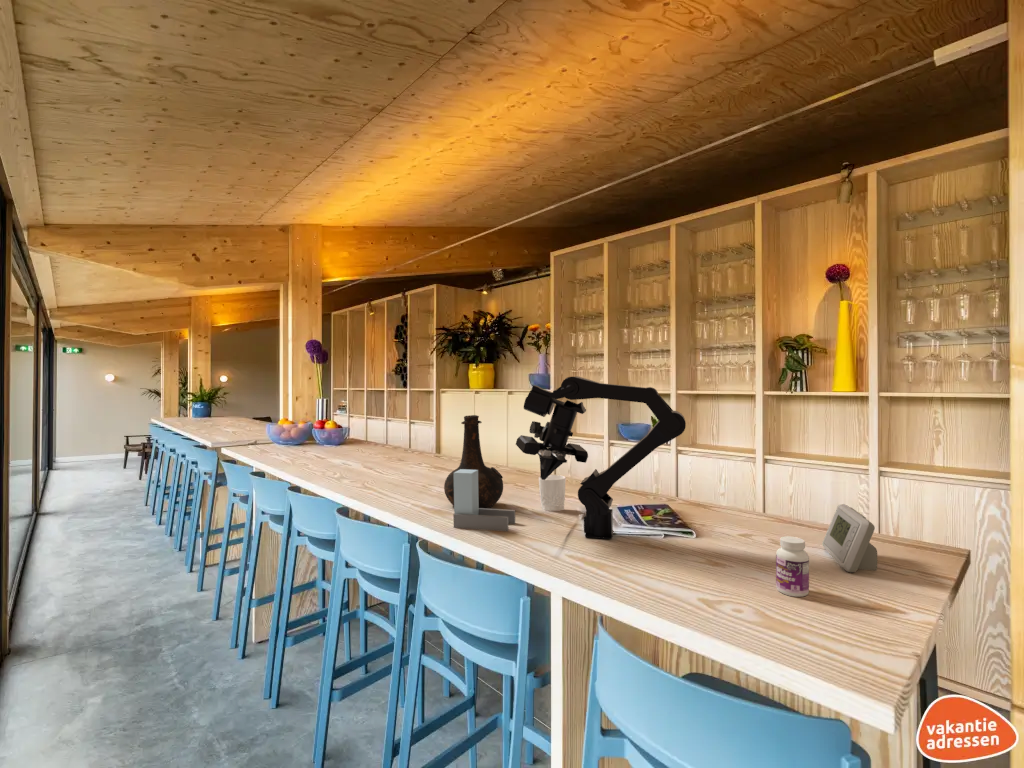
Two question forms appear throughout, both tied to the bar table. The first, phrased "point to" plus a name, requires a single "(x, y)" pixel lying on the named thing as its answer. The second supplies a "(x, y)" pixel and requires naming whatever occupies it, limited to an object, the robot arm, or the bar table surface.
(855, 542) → the digital clock
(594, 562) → the bar table surface
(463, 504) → the block
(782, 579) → the pill bottle
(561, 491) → the white cup
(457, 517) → the chute
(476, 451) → the dark brown round-bodied bottle
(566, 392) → the robot arm
